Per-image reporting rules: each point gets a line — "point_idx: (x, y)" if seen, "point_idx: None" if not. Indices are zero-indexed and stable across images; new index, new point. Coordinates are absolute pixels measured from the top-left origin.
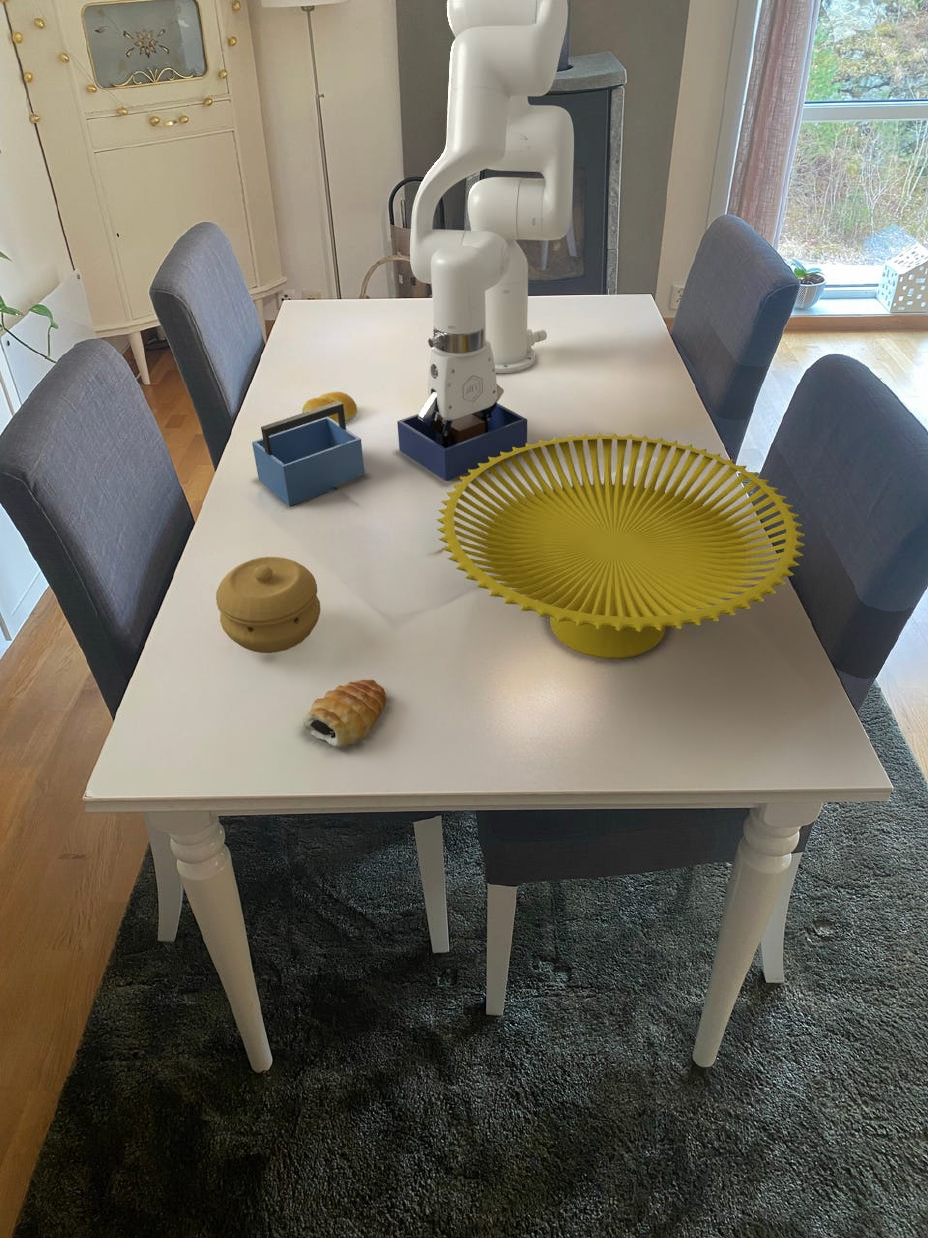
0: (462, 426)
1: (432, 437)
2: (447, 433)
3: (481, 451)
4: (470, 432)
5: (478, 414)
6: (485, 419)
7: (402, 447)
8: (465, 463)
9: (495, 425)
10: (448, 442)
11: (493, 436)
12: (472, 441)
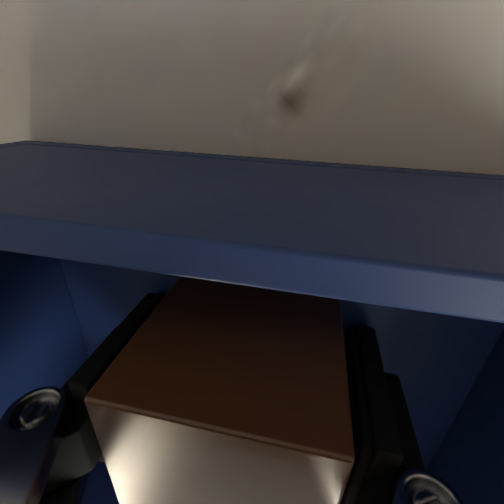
0: (270, 470)
1: None
2: (406, 486)
3: (299, 191)
4: (238, 385)
5: (79, 460)
6: (66, 405)
7: None
8: (458, 192)
9: (55, 350)
10: (388, 410)
11: (131, 208)
12: (433, 260)
